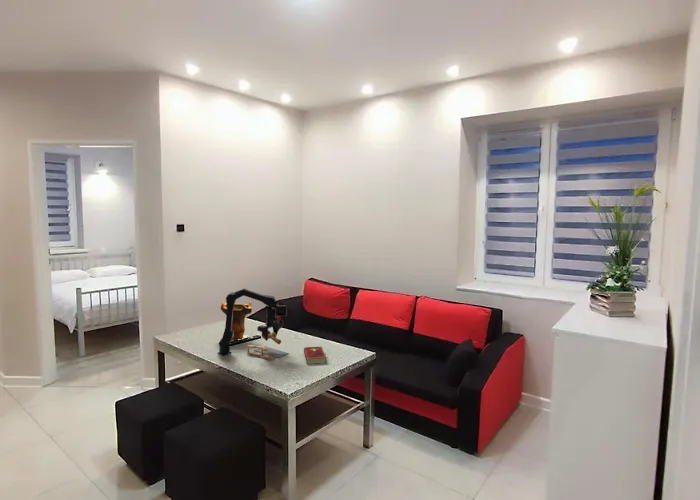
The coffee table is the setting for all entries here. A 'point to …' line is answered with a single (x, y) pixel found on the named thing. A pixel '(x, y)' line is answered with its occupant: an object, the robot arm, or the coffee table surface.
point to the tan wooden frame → (260, 353)
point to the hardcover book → (314, 355)
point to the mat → (272, 352)
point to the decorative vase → (238, 318)
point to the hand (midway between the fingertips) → (270, 339)
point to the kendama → (273, 337)
